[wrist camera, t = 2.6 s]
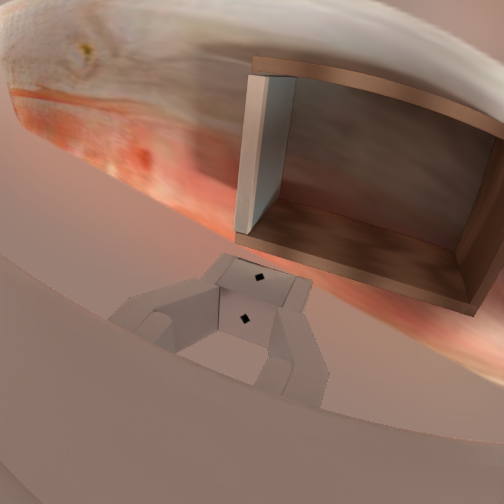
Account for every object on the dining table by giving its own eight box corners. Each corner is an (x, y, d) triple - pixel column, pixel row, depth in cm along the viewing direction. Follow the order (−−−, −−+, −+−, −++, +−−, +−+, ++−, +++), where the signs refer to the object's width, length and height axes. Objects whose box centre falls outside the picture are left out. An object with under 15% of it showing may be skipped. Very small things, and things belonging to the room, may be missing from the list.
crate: (508, 127, 18) (549, 148, 12) (459, 263, 26) (473, 317, 20) (287, 61, 23) (253, 55, 17) (268, 205, 31) (234, 243, 25)
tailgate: (296, 77, 24) (265, 76, 17) (279, 196, 30) (247, 234, 24) (284, 75, 24) (248, 74, 18) (268, 194, 30) (233, 230, 24)
